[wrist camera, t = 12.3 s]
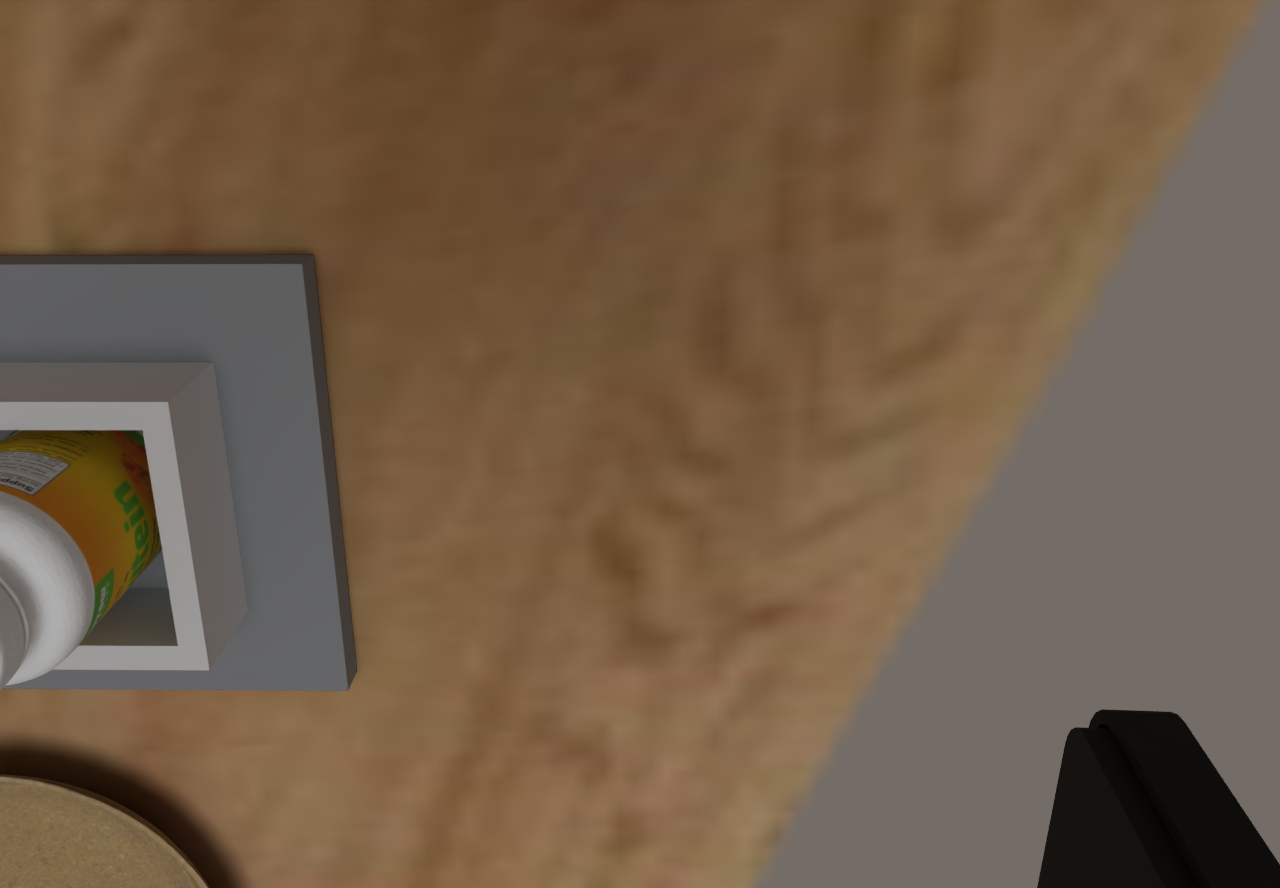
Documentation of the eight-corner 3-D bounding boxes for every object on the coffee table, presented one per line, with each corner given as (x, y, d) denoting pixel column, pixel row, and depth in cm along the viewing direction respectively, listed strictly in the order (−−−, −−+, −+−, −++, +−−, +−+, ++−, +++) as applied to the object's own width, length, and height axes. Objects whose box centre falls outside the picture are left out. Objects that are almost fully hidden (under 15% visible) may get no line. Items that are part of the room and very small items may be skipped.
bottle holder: (-161, 255, 36) (-276, 295, 32) (313, 254, 36) (264, 294, 31) (-59, 668, 41) (-146, 752, 37) (356, 671, 41) (319, 755, 36)
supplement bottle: (192, 571, 38) (44, 759, 29) (19, 558, 38) (-184, 742, 29) (181, 408, 36) (19, 555, 27) (-1, 394, 36) (-225, 536, 27)
